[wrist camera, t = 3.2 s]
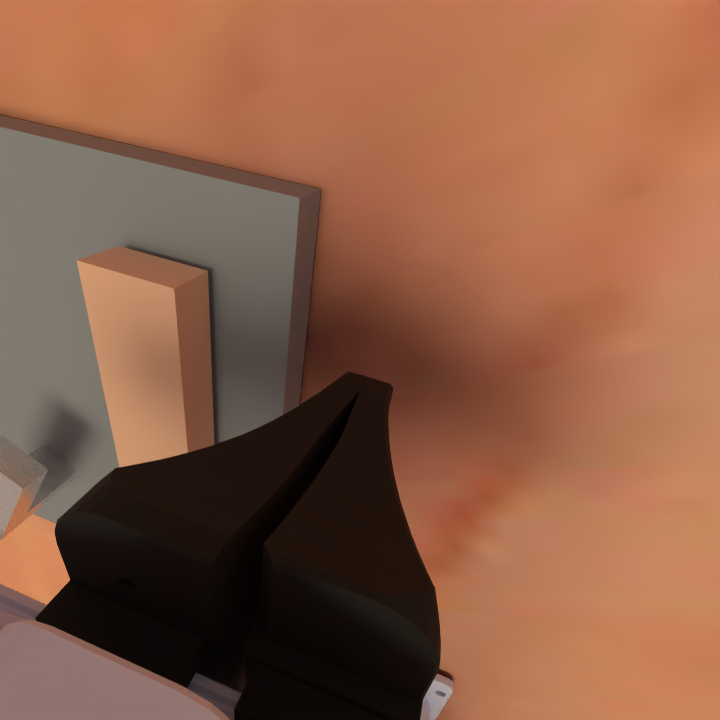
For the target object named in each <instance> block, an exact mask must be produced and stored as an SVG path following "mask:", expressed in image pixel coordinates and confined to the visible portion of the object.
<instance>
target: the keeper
mask: <svg viewBox="0 0 720 720" xmlns="http://www.w3.org/2000/svg"><path fill="white" fill-rule="evenodd" d="M75 474H76V471H74V470H73V469H72V468H70V467H69V466H68V465H66V464H65V463H64V462H62V461H61V460H60V459H58V458H57V457H56V456H55V455H53V454H52V453H51V452H49V451H48V450H47V449H45V448H44V447H43V446H39V447H38V448H37V449H35V450H34V451H32V452H31V453H30V454H27V453H26V452H24V451H23V450H22V449H20V448H19V447H18V446H16V445H15V444H14V443H12V442H11V441H10V440H8V439H7V438H6V437H4V436H3V435H2V436H1V437H0V541H1V540H2V539H3V538H4V537H6V536H7V535H8V534H9V533H10V532H12V531H13V530H14V529H15V528H16V527H17V526H19V525H20V524H21V523H22V522H23V521H25V520H26V519H27V518H28V517H29V516H31V515H32V514H33V513H34V512H35V511H36V510H38V509H39V508H40V507H41V506H42V505H44V504H45V503H46V502H47V501H48V500H49V499H51V498H52V497H53V496H54V495H55V494H57V493H58V492H59V491H60V490H61V489H62V488H64V487H65V486H66V485H67V484H68V483H70V482H71V481H72V479H73V477H74V475H75Z"/></svg>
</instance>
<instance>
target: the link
mask: <svg viewBox="0 0 720 720" xmlns="http://www.w3.org/2000/svg"><path fill="white" fill-rule="evenodd" d="M77 265H78V269H79V274H80V279H81V284H82V289H83V294H84V298H85V303H86V308H87V313H88V318H89V323H90V327H91V332H92V337H93V342H94V347H95V352H96V357H97V361H98V366H99V371H100V376H101V381H102V386H103V390H104V395H105V400H106V405H107V410H108V415H109V419H110V424H111V429H112V434H113V439H114V444H115V448H116V453H117V458H118V463H119V467H124V466H130V465H135V464H140V463H145V462H150V461H155V460H160V459H165V458H169V457H173V456H177V455H181V454H185V453H188V452H192V451H195V450H199V449H202V448H206V447H209V446H212V445H214V422H213V394H212V367H211V340H210V313H209V285H208V271H207V270H203V269H200V268H196V267H193V266H189V265H185V264H182V263H178V262H175V261H171V260H167V259H164V258H160V257H157V256H153V255H149V254H146V253H142V252H139V251H135V250H131V249H128V248H124V247H121V246H117V247H114V248H111V249H108V250H105V251H102V252H99V253H97V254H94V255H91V256H88V257H85V258H82V259H79V260H77Z"/></svg>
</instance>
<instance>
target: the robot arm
mask: <svg viewBox="0 0 720 720" xmlns="http://www.w3.org/2000/svg"><path fill="white" fill-rule="evenodd" d="M392 392H393V387H392V386H391V384H389V383H385V382H382V381H379V380H375V379H372V378H369V377H365V376H362V375H359V374H355V373H352V372H348V373H346V374H344V375H343V376H341V377H340V378H339V379H337V380H336V381H335V382H333V383H332V384H331V385H329V386H328V387H326V388H325V389H323V390H322V391H321V392H319V393H318V394H316V395H315V396H313V397H311V398H310V399H308V400H307V401H305V402H304V403H302V404H301V405H299V406H297V407H296V408H294V409H292V410H290V411H289V412H287V413H285V414H283V415H282V416H280V417H278V418H276V419H274V420H272V421H270V422H268V423H267V424H264V425H262V426H260V427H258V428H256V429H254V430H252V431H249V432H247V433H245V434H242V435H240V436H237V437H234V438H231V439H229V440H226V441H223V442H220V443H218V444H215V445H212V446H209V447H206V448H202V449H199V450H195V451H192V452H188V453H185V454H181V455H177V456H173V457H169V458H165V459H160V460H155V461H150V462H145V463H140V464H135V465H130V466H124V467H118V468H115V469H114V470H112V471H111V472H110V473H109V474H107V475H106V476H105V477H104V478H102V479H101V480H100V481H99V482H98V483H97V484H95V485H94V486H93V487H92V488H91V489H90V490H89V491H88V492H87V493H86V494H85V495H84V496H83V497H81V498H80V499H79V500H78V501H77V502H76V503H75V504H74V505H73V506H72V507H71V508H70V509H69V510H67V511H66V512H65V513H64V514H63V515H62V516H61V517H60V518H59V519H58V520H57V523H56V527H55V536H56V541H57V545H58V548H59V551H60V553H61V556H62V559H63V561H64V564H65V567H66V569H67V572H68V575H69V577H70V581H69V582H68V583H67V584H66V585H65V586H64V588H63V589H62V590H61V591H60V592H59V593H58V594H57V595H56V596H55V597H54V598H53V599H52V600H51V601H50V603H49V604H48V605H46V604H44V603H41V602H39V601H37V600H35V599H33V598H30V597H28V596H26V595H24V594H21V593H19V592H17V591H15V590H13V589H10V588H8V587H6V586H4V585H2V584H0V720H436V718H437V716H438V715H439V713H440V712H441V710H442V709H443V707H444V706H445V704H446V702H447V701H448V699H449V698H450V696H451V695H452V693H453V687H454V684H453V682H452V681H451V680H450V679H449V678H447V677H444V676H442V675H439V674H437V672H438V669H439V665H440V651H441V639H440V624H439V614H438V606H437V599H436V592H435V587H434V585H433V583H432V581H431V579H430V577H429V575H428V573H427V570H426V568H425V566H424V564H423V561H422V559H421V557H420V555H419V552H418V550H417V547H416V545H415V542H414V540H413V537H412V535H411V532H410V529H409V526H408V523H407V520H406V517H405V514H404V511H403V508H402V505H401V501H400V497H399V494H398V490H397V486H396V481H395V477H394V472H393V466H392V460H391V453H390V444H389V428H388V412H389V405H390V401H391V396H392Z"/></svg>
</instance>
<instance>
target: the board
mask: <svg viewBox="0 0 720 720" xmlns="http://www.w3.org/2000/svg"><path fill="white" fill-rule="evenodd" d="M320 196H321V189H319V188H314V187H310V186H306V185H301V184H297V183H293V182H289V181H284V180H280V179H276V178H271V177H267V176H263V175H258V174H254V173H250V172H245V171H241V170H237V169H232V168H228V167H224V166H220V165H215V164H211V163H207V162H202V161H198V160H194V159H189V158H185V157H181V156H176V155H172V154H168V153H163V152H159V151H155V150H151V149H146V148H142V147H138V146H133V145H129V144H125V143H120V142H116V141H112V140H107V139H103V138H99V137H94V136H90V135H86V134H82V133H77V132H73V131H69V130H64V129H60V128H56V127H51V126H47V125H43V124H38V123H34V122H30V121H25V120H21V119H17V118H13V117H8V116H4V115H0V437H1V436H2V435H3V436H4V437H6V438H7V439H8V440H10V441H11V442H12V443H14V444H15V445H16V446H18V447H19V448H20V449H22V450H23V451H24V452H26V453H27V454H30V453H31V452H32V451H34V450H35V449H37V448H38V447H39V446H43V447H44V448H45V449H47V450H48V451H49V452H51V453H52V454H53V455H55V456H56V457H57V458H58V459H60V460H61V461H62V462H64V463H65V464H66V465H68V466H69V467H70V468H72V469H73V470H74V471H76V474H75V475H74V477H73V479H72V481H71V482H70V483H68V484H67V485H66V486H65V487H64V488H62V489H61V490H60V491H59V492H58V493H57V494H55V495H54V496H53V497H52V498H51V499H49V500H48V501H47V502H46V503H45V504H44V505H42V506H41V507H40V508H39V509H38V510H36V511H35V512H34V513H33V514H35V515H37V516H40V517H42V518H44V519H47V520H49V521H52V522H54V523H57V520H58V519H59V518H60V517H61V516H62V515H63V514H64V513H65V512H66V511H67V510H69V509H70V508H71V507H72V506H73V505H74V504H75V503H76V502H77V501H78V500H79V499H80V498H81V497H83V496H84V495H85V494H86V493H87V492H88V491H89V490H90V489H91V488H92V487H93V486H94V485H95V484H97V483H98V482H99V481H100V480H101V479H102V478H104V477H105V476H106V475H107V474H109V473H110V472H111V471H112V470H114V469H115V468H118V467H119V463H118V458H117V453H116V448H115V444H114V439H113V434H112V429H111V424H110V419H109V415H108V410H107V405H106V400H105V395H104V390H103V386H102V381H101V376H100V371H99V366H98V361H97V357H96V352H95V347H94V342H93V337H92V332H91V327H90V323H89V318H88V313H87V308H86V303H85V298H84V294H83V289H82V284H81V279H80V274H79V269H78V265H77V260H79V259H82V258H85V257H88V256H91V255H94V254H97V253H99V252H102V251H105V250H108V249H111V248H114V247H117V246H121V247H124V248H128V249H131V250H135V251H139V252H142V253H146V254H149V255H153V256H157V257H160V258H164V259H167V260H171V261H175V262H178V263H182V264H185V265H189V266H193V267H196V268H200V269H203V270H207V271H208V285H209V313H210V340H211V367H212V394H213V422H214V445H215V444H218V443H220V442H223V441H226V440H229V439H231V438H234V437H237V436H240V435H242V434H245V433H247V432H249V431H252V430H254V429H256V428H258V427H260V426H262V425H264V424H267V423H268V422H270V421H272V420H274V419H276V418H278V417H280V416H282V415H283V414H285V413H287V412H289V411H290V410H292V409H294V408H296V407H297V406H299V403H300V393H301V383H302V373H303V364H304V354H305V344H306V334H307V324H308V314H309V305H310V295H311V285H312V275H313V265H314V255H315V246H316V236H317V226H318V216H319V206H320Z"/></svg>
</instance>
